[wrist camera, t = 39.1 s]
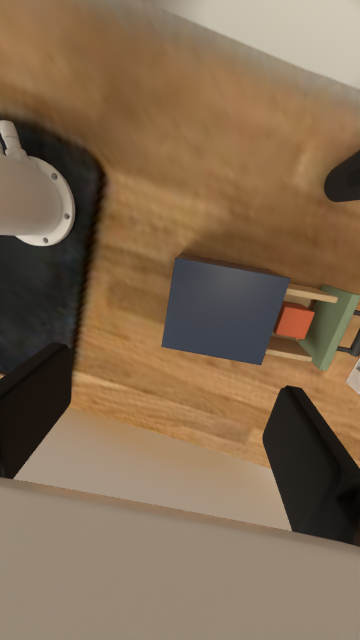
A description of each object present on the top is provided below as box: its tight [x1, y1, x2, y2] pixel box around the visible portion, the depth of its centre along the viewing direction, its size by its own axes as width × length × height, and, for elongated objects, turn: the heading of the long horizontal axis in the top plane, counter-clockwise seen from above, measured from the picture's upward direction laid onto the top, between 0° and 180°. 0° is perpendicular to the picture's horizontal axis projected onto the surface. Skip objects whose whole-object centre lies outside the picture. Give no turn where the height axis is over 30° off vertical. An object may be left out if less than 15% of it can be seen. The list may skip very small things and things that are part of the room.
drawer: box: [265, 283, 360, 371], centre depth 35 cm, size 19×12×7 cm, turn 80°
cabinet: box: [161, 254, 290, 365], centre depth 35 cm, size 15×13×9 cm
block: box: [273, 301, 315, 339], centre depth 35 cm, size 4×4×4 cm
